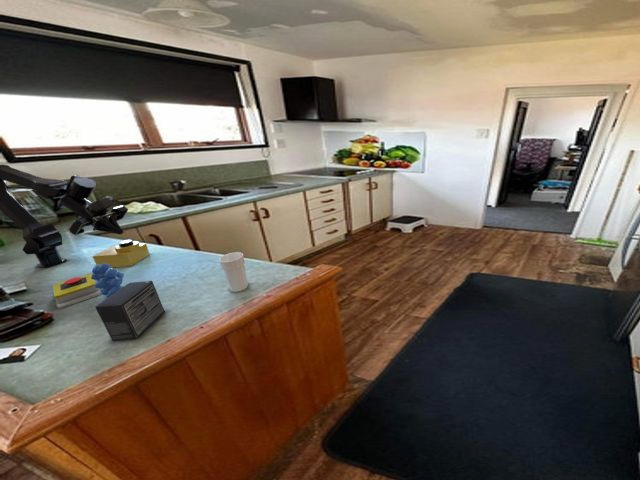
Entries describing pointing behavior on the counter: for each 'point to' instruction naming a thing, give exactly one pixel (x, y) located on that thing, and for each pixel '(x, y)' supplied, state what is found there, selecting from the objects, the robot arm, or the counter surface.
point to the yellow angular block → (122, 255)
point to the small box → (130, 310)
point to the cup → (234, 271)
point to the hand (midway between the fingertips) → (122, 233)
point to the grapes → (107, 279)
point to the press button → (126, 243)
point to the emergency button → (75, 290)
